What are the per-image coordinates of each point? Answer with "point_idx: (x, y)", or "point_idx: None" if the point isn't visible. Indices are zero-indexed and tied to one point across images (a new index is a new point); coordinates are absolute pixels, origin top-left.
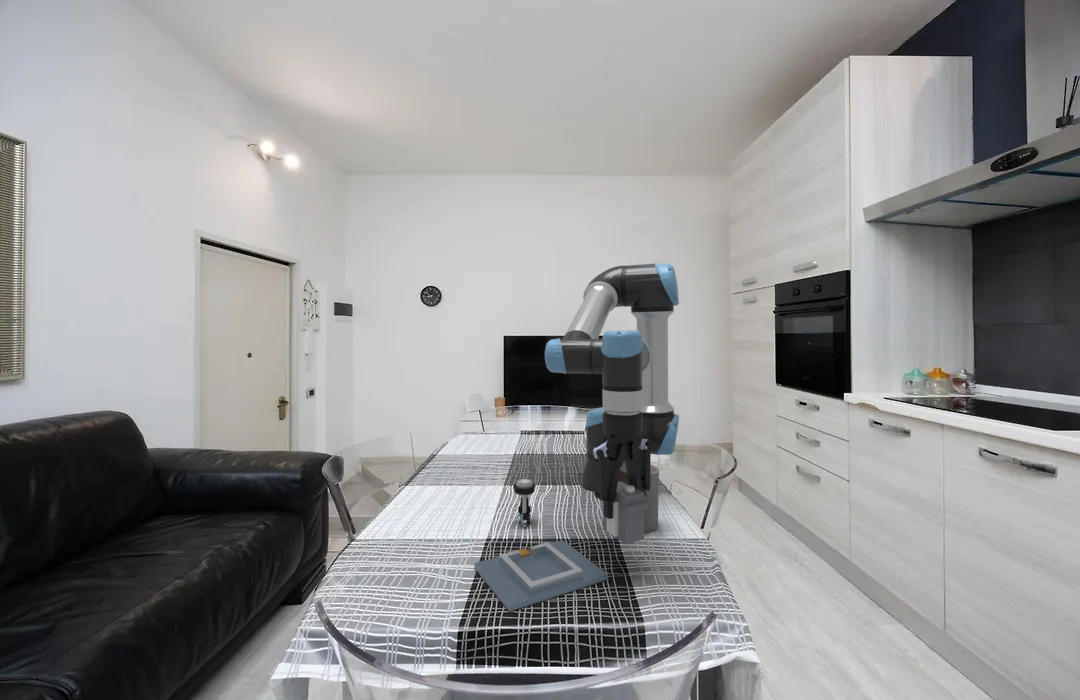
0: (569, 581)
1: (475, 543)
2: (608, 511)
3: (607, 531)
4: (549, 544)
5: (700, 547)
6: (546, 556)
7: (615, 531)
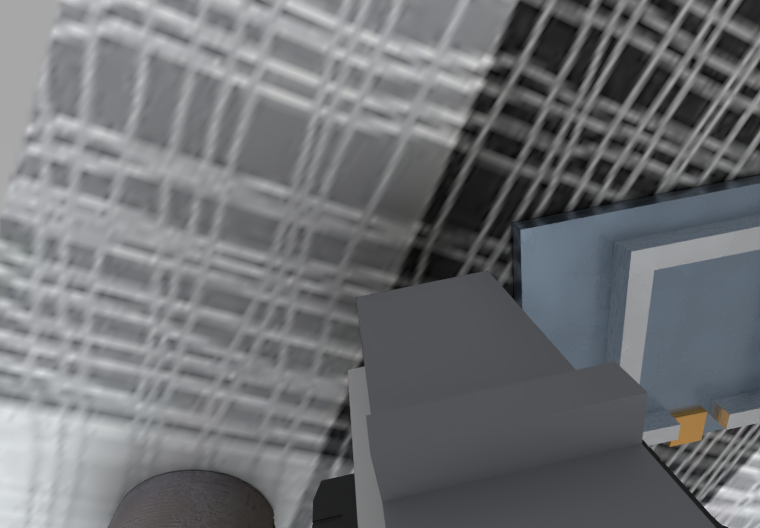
0: (675, 227)
1: (729, 505)
2: (658, 462)
3: None
4: None
5: (2, 332)
6: None
7: None
